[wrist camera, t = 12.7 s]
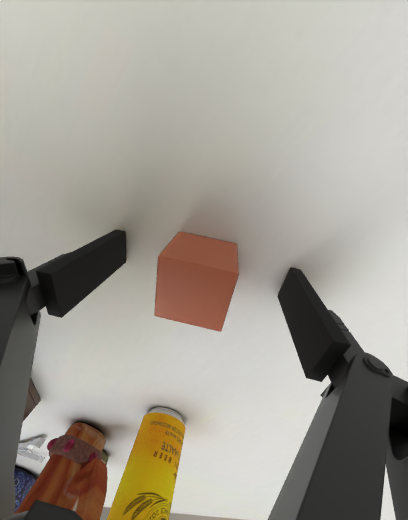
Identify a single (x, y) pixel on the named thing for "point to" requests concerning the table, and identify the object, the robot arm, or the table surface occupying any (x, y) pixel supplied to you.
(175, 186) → the table surface
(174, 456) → the beer can
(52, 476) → the mug
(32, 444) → the crossbow
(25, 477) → the planter
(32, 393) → the cabinet
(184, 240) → the block
